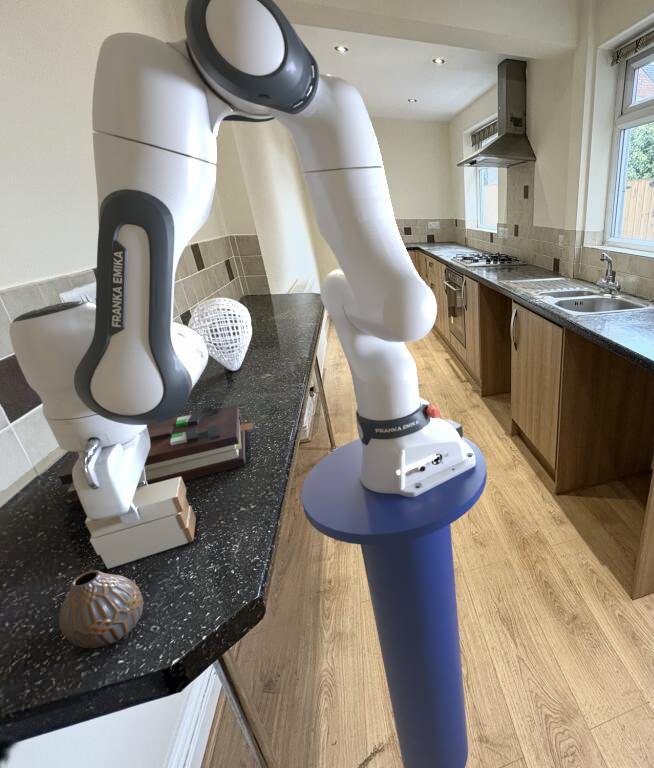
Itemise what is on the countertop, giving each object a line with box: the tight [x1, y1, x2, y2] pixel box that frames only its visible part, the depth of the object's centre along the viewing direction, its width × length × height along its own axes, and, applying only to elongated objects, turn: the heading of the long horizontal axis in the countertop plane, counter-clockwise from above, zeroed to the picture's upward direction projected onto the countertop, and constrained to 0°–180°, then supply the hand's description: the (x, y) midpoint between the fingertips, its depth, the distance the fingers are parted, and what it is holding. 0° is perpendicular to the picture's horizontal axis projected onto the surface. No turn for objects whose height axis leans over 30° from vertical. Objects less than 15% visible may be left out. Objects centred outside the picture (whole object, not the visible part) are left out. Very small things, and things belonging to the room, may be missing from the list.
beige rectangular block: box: [89, 495, 197, 570], centre depth 62 cm, size 10×6×6 cm, turn 122°
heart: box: [187, 297, 253, 372], centre depth 128 cm, size 28×16×22 cm, turn 32°
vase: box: [58, 569, 144, 649], centre depth 48 cm, size 7×7×9 cm
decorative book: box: [58, 401, 255, 510], centre depth 82 cm, size 19×8×30 cm
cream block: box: [84, 477, 187, 538], centre depth 61 cm, size 10×6×3 cm, turn 123°
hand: (137, 506), depth 61 cm, fingers closed on cream block, 6 cm apart
